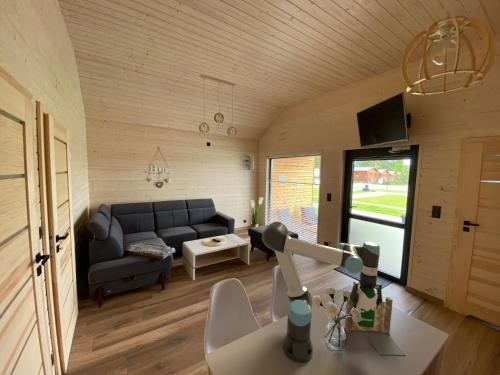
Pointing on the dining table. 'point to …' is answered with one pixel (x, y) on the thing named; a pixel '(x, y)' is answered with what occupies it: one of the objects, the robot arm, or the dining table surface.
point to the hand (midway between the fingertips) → (364, 314)
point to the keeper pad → (385, 345)
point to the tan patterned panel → (386, 315)
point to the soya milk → (367, 306)
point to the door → (377, 321)
